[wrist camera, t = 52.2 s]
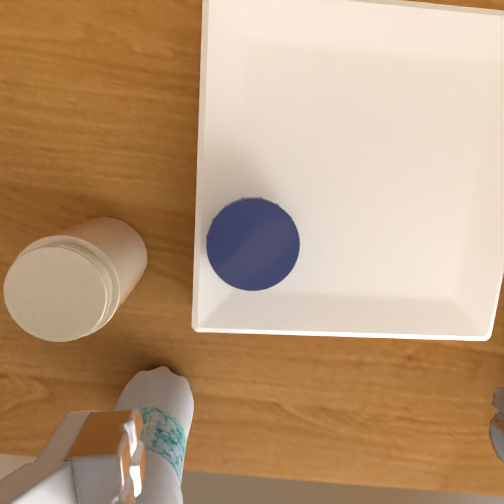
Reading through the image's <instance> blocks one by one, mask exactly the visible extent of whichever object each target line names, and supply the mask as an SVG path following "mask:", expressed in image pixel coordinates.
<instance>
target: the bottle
mask: <svg viewBox="0 0 504 504" xmlns="http://www.w3.org/2000/svg"><path fill="white" fill-rule="evenodd" d="M138 408H139V409H140V411H141V415H142V423H143V427H142V431H141V434H140V437H139V439H140V440H141V441H142V442H143V443H144V444H145V474H144V482H143V486H142V490H141V493H140V494H138V495H137V496H136V497H135V502H136V504H183V498H182V493H181V490H180V484H181V477H182V471H183V464H184V457H185V450H186V441H187V437H188V433H189V429H190V426H191V422H192V416H193V410H194V401H193V396H192V393H191V390H190V386H189V383H188V381H187V379H186V378H185V377H184V376H178V375H176V374H174V373H172V372H171V371H170V370H169V368H168V367H163V366H161V367H158V368H156V369H154V370H151V371H144V370H143V371H140V372H139V373H137V374H136V375H135V376H134V377H133V378H132V379H131V380H130V381H129V383H128V384H127V385H126V386H125V388H124V390H123V391H122V393H121V395H120V397H119V400H118V402H117V405H116V408H115V409H138Z"/></svg>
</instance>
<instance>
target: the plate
mask: <svg viewBox="0 0 504 504" xmlns="http://www.w3.org/2000/svg"><path fill="white" fill-rule="evenodd" d="M242 197H243V198H250V197H254V198H259V197H261V198H262V199H266V200H269V201H271V202H273V203H275V204H276V203H277V204H278V205H279V207H281V208H282V209H283V210H284V211H286V212H287V213H288V215H289V216H291V217H292V220H293V221H294V223H295V225H296V227H297V230H298V233H299V238H300V251H299V255H298V259H297V262H296V264H295V266H294V268H293V269H292V271H291V272H290V273H289V275H288V276H287V277H286V278H285V279H284V280H282V281H281V282H280V283H278V284H277V285H275V286H273V287H270V288H268V289H264V290H260V291H246V290H241V289H237V288H235V287H232V286H230V285H229V284H227V283H225V282H224V281H223V280H222V279H221V278H220V277H219V276H218V275H217V274H216V273H215V272H214V270H213V268H212V267H211V265H210V262H209V260H208V256H207V249H206V241H207V238H206V235H207V234H208V231H209V228H210V225H211V223H212V219H213V218H215V216H216V215H217V214H218V213H219V211H220V210H222V209H223V208H224V207H225V205H228V204H230V203H232V202H233V201H236V200H239V199H241V198H242ZM503 273H504V11H503V10H493V9H483V8H473V7H463V6H453V5H443V4H433V3H423V2H413V1H403V0H203V5H202V35H201V65H200V94H199V124H198V154H197V184H196V214H195V244H194V274H193V304H192V328H193V329H194V330H195V331H196V332H217V333H249V334H282V335H314V336H346V337H378V338H410V339H443V340H475V341H486V340H488V339H489V338H490V337H491V334H492V329H493V324H494V319H495V314H496V309H497V304H498V299H499V293H500V288H501V283H502V278H503Z"/></svg>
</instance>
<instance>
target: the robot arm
mask: <svg viewBox="0 0 504 504" xmlns="http://www.w3.org/2000/svg"><path fill="white" fill-rule="evenodd" d="M492 405H493V406H494V408H495V409H496V411H497V413H496V414H495V416H494V417H493V418H492V419H491V421H490V429H489V436H490V439H491V443H492V447H493V449H494V450H495V452H496V454H497V456H498V457H499V458H500V459H501V460H502V462H503V463H504V387H497V388H496V390H495V392H494V394H493V400H492ZM142 427H143V423H142V415H141V411H140V409H139V408H138V409H113V410H94V411H92V410H87V411H73V412H69V413H67V414H66V415H65V416H64V418H63V419H62V421H61V422H60V424H59V425H58V427H57V428H56V430H55V431H54V433H53V434H52V436H51V437H50V439H49V441H48V442H47V444H46V445H45V447H44V448H43V450H42V451H41V453H40V454H39V456H38V457H37V459H36V460H35V462H34V463H31V464H25V465H23V466H22V467H20V468H19V469H17V470H15V471H14V472H12V473H11V474H9V475H8V476H6V477H4V478H3V479H1V480H0V504H136V502H135V497H136V496H137V495H138V494H140V493H141V490H142V486H143V482H144V474H145V444H144V443H143V442H142V441H141V440H140V439H139V437H140V434H141V431H142Z"/></svg>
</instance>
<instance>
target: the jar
mask: <svg viewBox="0 0 504 504" xmlns="http://www.w3.org/2000/svg"><path fill="white" fill-rule="evenodd" d="M146 266H147V251H146V247H145V244H144V242H143V240H142V238H141V236H140V235H139V234H138V233H137V231H136V230H135V229H134V228H132V227H131V226H130V225H128V224H127V223H125V222H123V221H121V220H118V219H115V218H110V217H99V218H94V219H90V220H88V221H85V222H82V223H80V224H77V225H75V226H72V227H69V228H67V229H64V230H62V231H59V232H56V233H54V234H51V235H49V236H46V237H43V238H41V239H39V240H36V241H34V242H33V243H31V244H29V245H28V246H27V247H26V248H24V249H23V250H22V251H21V253H20V254H19V255H18V256H17V258H16V259H15V261H14V263H13V264H12V265H11V267H10V269H9V270H8V272H7V275H6V278H5V281H4V288H3V292H4V300H5V304H6V307H7V309H8V311H9V313H10V315H11V317H12V318H13V320H14V321H15V322H16V323H17V324H18V325H19V326H20V327H21V328H22V329H23V330H25V331H26V332H27V333H29V334H31V335H33V336H35V337H37V338H40V339H43V340H47V341H53V342H65V341H71V340H75V339H78V338H80V337H83V336H86V335H89V334H91V333H94V332H96V331H97V330H99V329H100V328H102V327H103V326H104V325H105V324H106V323H107V322H108V321H109V320H110V319H111V318H112V316H113V315H114V314H115V312H116V311H117V310H118V308H119V307H120V306H121V304H122V303H123V302H124V300H125V299H126V298H127V296H128V295H129V294H130V293H131V291H132V290H133V289H134V287H135V286H136V285H137V283H138V282H139V281H140V279H141V278H142V276H143V274H144V272H145V269H146Z"/></svg>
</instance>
